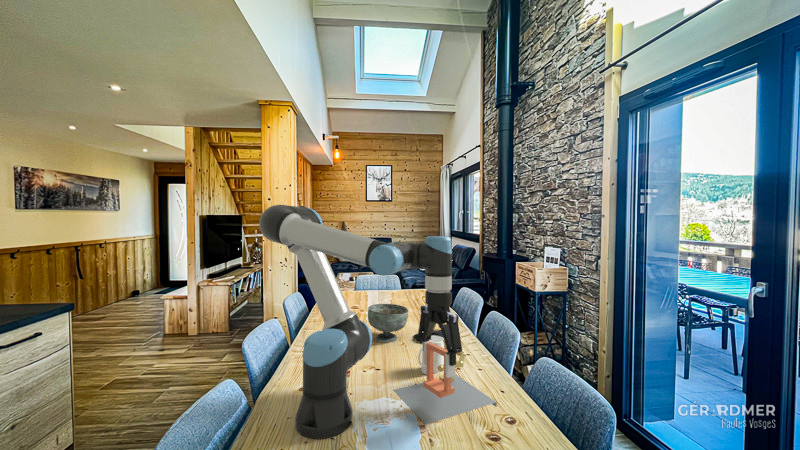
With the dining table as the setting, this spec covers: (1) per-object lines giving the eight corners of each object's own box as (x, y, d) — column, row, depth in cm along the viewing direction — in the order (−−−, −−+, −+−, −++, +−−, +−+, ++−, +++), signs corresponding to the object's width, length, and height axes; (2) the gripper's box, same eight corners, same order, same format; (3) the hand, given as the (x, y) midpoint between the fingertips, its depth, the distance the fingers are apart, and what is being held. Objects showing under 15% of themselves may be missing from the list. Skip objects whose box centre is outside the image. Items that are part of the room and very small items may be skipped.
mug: (425, 381, 112) (425, 346, 112) (409, 372, 119) (410, 339, 119) (449, 372, 119) (449, 339, 119) (433, 364, 125) (434, 333, 126)
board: (425, 428, 85) (425, 424, 85) (393, 393, 103) (393, 390, 103) (496, 406, 96) (496, 402, 96) (456, 378, 114) (456, 374, 114)
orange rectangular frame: (442, 399, 86) (442, 354, 86) (421, 385, 94) (421, 344, 94) (456, 394, 89) (456, 350, 89) (435, 381, 96) (435, 341, 97)
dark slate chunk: (464, 339, 156) (464, 329, 156) (429, 348, 144) (429, 337, 144) (443, 330, 169) (443, 321, 169) (409, 338, 156) (409, 328, 156)
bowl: (408, 346, 144) (408, 313, 144) (365, 346, 144) (365, 312, 144) (407, 332, 164) (408, 302, 164) (369, 331, 164) (370, 302, 164)
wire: (439, 412, 91) (439, 360, 91) (410, 386, 106) (411, 341, 106) (480, 400, 97) (480, 352, 98) (447, 377, 112) (448, 335, 112)
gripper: (476, 295, 85) (476, 381, 84) (425, 283, 103) (425, 354, 103) (455, 298, 81) (455, 389, 80) (406, 285, 99) (405, 359, 98)
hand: (438, 369), depth 91 cm, fingers closed on orange rectangular frame, 9 cm apart
